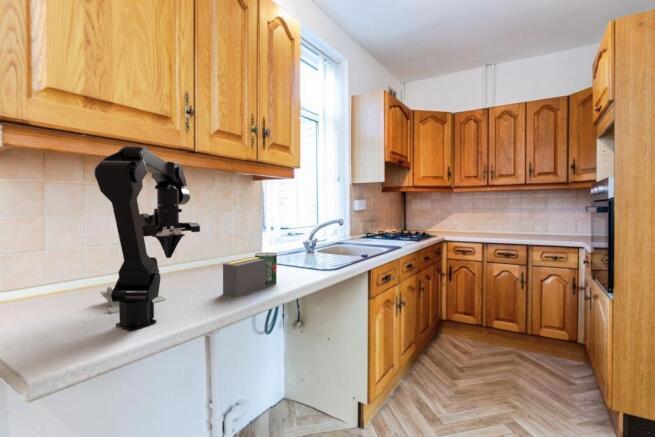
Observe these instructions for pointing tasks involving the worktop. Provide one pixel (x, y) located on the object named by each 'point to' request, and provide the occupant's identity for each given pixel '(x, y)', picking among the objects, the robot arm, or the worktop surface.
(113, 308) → the metal bracket
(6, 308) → the worktop surface
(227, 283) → the grey rectangular box
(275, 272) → the canned tomato
